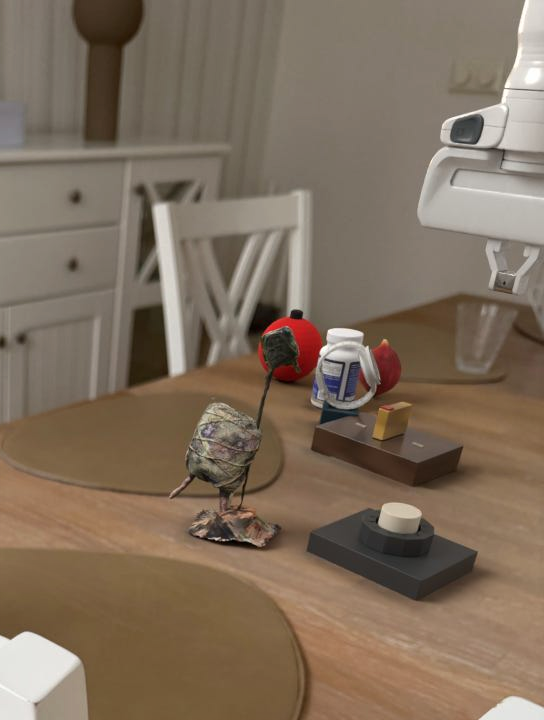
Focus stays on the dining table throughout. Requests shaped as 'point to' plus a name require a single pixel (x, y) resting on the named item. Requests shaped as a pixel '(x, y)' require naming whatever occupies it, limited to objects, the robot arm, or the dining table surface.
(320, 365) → the watch
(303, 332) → the ornament
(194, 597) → the dining table surface
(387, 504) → the bell button
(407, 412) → the block
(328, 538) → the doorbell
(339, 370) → the pill bottle
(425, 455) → the plate
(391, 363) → the onion
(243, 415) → the stone sculpture
